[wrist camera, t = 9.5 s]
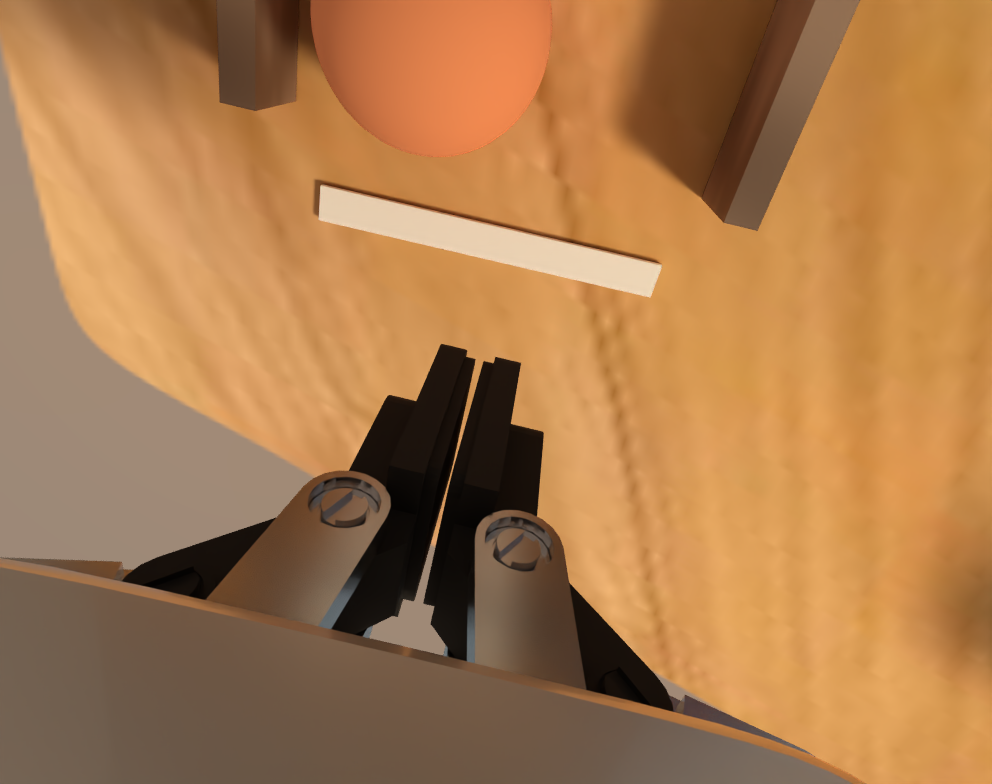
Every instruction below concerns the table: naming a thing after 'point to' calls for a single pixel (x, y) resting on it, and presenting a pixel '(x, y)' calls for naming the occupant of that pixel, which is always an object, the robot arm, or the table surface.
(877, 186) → the table surface
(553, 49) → the table surface
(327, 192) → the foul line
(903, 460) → the table surface
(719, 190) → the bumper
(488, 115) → the ball
